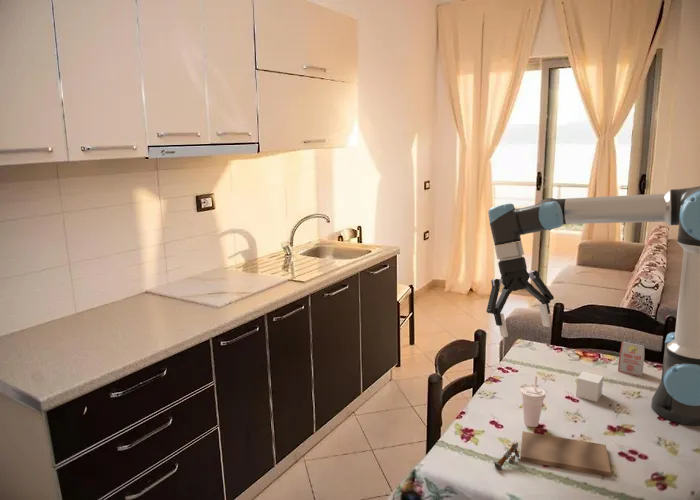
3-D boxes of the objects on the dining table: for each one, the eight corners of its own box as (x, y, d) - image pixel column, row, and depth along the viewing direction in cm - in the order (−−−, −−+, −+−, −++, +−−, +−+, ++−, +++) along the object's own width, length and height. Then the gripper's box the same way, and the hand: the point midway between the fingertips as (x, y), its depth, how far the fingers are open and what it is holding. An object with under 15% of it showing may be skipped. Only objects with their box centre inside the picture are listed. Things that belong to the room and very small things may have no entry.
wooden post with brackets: (523, 455, 133) (519, 442, 131) (503, 477, 130) (499, 465, 128) (517, 451, 135) (513, 439, 133) (497, 474, 131) (493, 461, 129)
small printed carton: (620, 367, 184) (623, 339, 182) (642, 372, 180) (645, 344, 178) (617, 371, 181) (620, 343, 179) (640, 376, 177) (643, 347, 175)
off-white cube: (601, 394, 166) (603, 376, 164) (596, 402, 161) (598, 383, 160) (581, 389, 169) (582, 371, 168) (575, 396, 164) (577, 378, 163)
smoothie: (546, 429, 146) (550, 381, 143) (523, 429, 146) (525, 381, 143) (539, 417, 152) (542, 371, 149) (516, 417, 152) (518, 371, 149)
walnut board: (605, 449, 137) (605, 444, 136) (610, 476, 126) (610, 472, 125) (522, 435, 143) (522, 431, 143) (520, 460, 132) (520, 456, 132)
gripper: (541, 251, 162) (556, 321, 161) (465, 267, 156) (480, 339, 156) (556, 249, 155) (571, 322, 154) (477, 265, 149) (492, 341, 148)
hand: (526, 331), depth 155 cm, fingers open, 13 cm apart
